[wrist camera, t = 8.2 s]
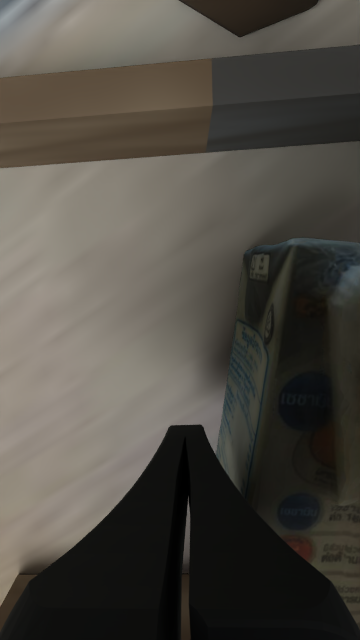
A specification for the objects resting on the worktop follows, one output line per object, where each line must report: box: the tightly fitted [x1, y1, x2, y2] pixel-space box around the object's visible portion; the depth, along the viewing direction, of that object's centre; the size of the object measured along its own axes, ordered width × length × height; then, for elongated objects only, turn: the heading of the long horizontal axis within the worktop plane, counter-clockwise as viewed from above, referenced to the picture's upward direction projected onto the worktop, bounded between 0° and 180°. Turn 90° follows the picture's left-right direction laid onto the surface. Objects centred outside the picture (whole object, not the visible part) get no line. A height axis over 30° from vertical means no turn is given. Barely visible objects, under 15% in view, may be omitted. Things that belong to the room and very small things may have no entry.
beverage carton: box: [216, 237, 360, 629], centre depth 11 cm, size 8×19×7 cm, turn 175°
